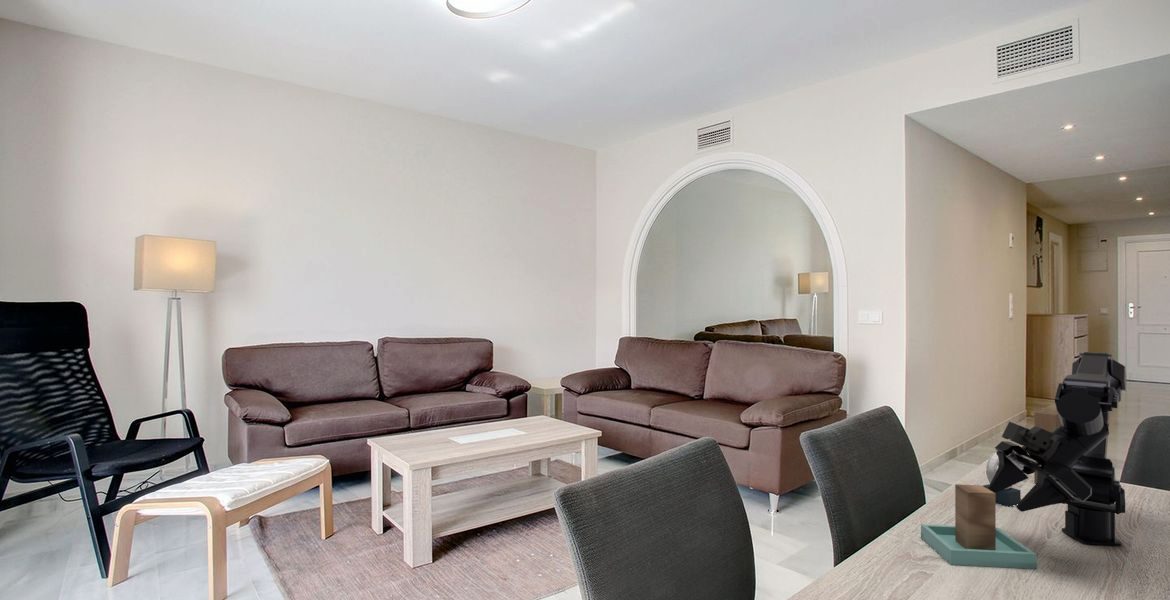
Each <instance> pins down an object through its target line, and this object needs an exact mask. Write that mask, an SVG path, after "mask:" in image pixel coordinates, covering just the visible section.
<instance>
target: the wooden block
mask: <svg viewBox="0 0 1170 600" xmlns="http://www.w3.org/2000/svg"><path fill="white" fill-rule="evenodd" d="M1033 414H1034V416H1033V417H1034V420H1033V421H1034V422H1033V423H1034V425H1033V427H1034V426H1036V427H1039V428H1042V429H1044V430H1046V431H1049V432H1052V431H1054V430H1055V429H1056V428H1057V427H1058V426H1059V425H1060V424H1061V421H1060V418H1059V415H1058V412H1057V410H1050V409H1049V410H1048V409H1037V410H1035V411H1033ZM1033 475H1034V477H1033V478H1034V480H1033V482H1034V484H1036V483H1037V475H1038V472H1036V471H1035V472H1034V473H1033Z"/></svg>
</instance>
